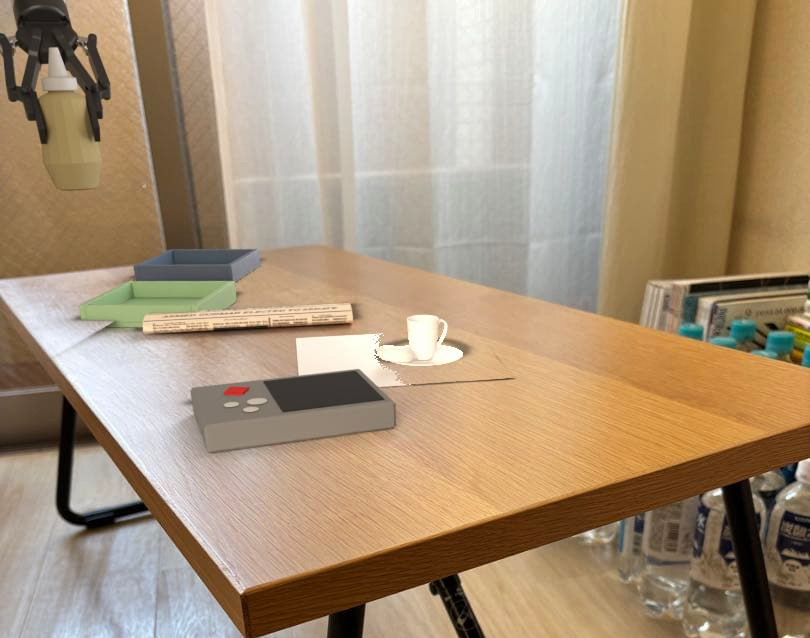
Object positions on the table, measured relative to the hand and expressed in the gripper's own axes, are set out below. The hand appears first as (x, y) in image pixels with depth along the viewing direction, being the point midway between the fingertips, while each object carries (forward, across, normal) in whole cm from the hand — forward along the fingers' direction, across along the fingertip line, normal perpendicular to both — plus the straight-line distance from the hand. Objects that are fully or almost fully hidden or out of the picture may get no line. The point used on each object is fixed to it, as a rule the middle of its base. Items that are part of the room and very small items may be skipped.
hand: (70, 135), depth 123 cm
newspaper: (+41, -14, +14) cm, 46 cm away
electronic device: (+66, -8, +38) cm, 77 cm away
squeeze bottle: (+3, 0, -8) cm, 8 cm away
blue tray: (+16, -15, -12) cm, 25 cm away
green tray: (+33, -5, +5) cm, 34 cm away
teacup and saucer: (+56, -24, +28) cm, 67 cm away
